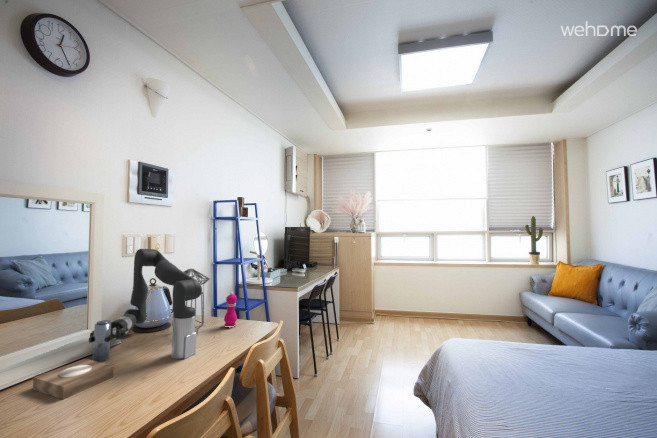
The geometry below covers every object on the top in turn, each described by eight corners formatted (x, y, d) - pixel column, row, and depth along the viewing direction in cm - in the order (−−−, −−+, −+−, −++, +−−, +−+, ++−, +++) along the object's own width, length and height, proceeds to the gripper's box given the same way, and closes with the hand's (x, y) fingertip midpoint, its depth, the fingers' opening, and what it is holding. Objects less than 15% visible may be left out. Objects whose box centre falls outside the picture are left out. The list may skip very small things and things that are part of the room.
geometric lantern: (193, 326, 168) (196, 266, 169) (208, 333, 158) (212, 268, 160) (165, 334, 155) (169, 268, 156) (180, 341, 146) (184, 271, 147)
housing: (112, 357, 125) (114, 320, 126) (98, 363, 120) (100, 324, 121) (103, 355, 127) (105, 319, 128) (89, 360, 122) (91, 322, 123)
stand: (113, 376, 110) (113, 365, 110) (63, 399, 95) (64, 386, 95) (84, 368, 115) (85, 357, 115) (32, 389, 100) (33, 376, 100)
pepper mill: (224, 329, 166) (226, 293, 166) (222, 325, 172) (224, 291, 173) (237, 327, 169) (239, 292, 170) (235, 323, 175) (237, 290, 176)
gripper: (102, 319, 137) (79, 331, 120) (136, 318, 140) (118, 330, 123) (101, 335, 137) (78, 349, 120) (135, 334, 139) (117, 348, 123)
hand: (98, 340), depth 122 cm, fingers closed on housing, 5 cm apart
